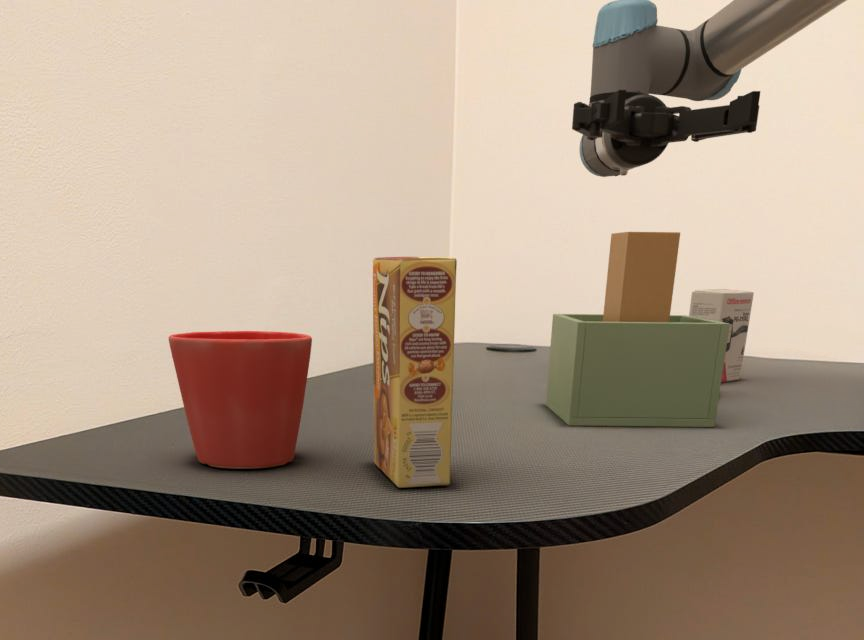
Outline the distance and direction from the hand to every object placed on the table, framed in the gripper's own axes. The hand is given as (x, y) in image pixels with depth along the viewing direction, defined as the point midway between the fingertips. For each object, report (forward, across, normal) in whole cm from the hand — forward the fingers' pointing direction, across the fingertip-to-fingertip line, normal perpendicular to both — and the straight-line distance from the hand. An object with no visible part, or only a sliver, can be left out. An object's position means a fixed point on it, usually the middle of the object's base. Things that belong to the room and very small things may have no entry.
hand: (688, 105), depth 92 cm
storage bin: (+7, +5, -30) cm, 31 cm away
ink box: (-25, -15, -30) cm, 42 cm away
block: (+7, +5, -29) cm, 30 cm away
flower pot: (+32, +42, -30) cm, 61 cm away
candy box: (+37, +29, -30) cm, 56 cm away
